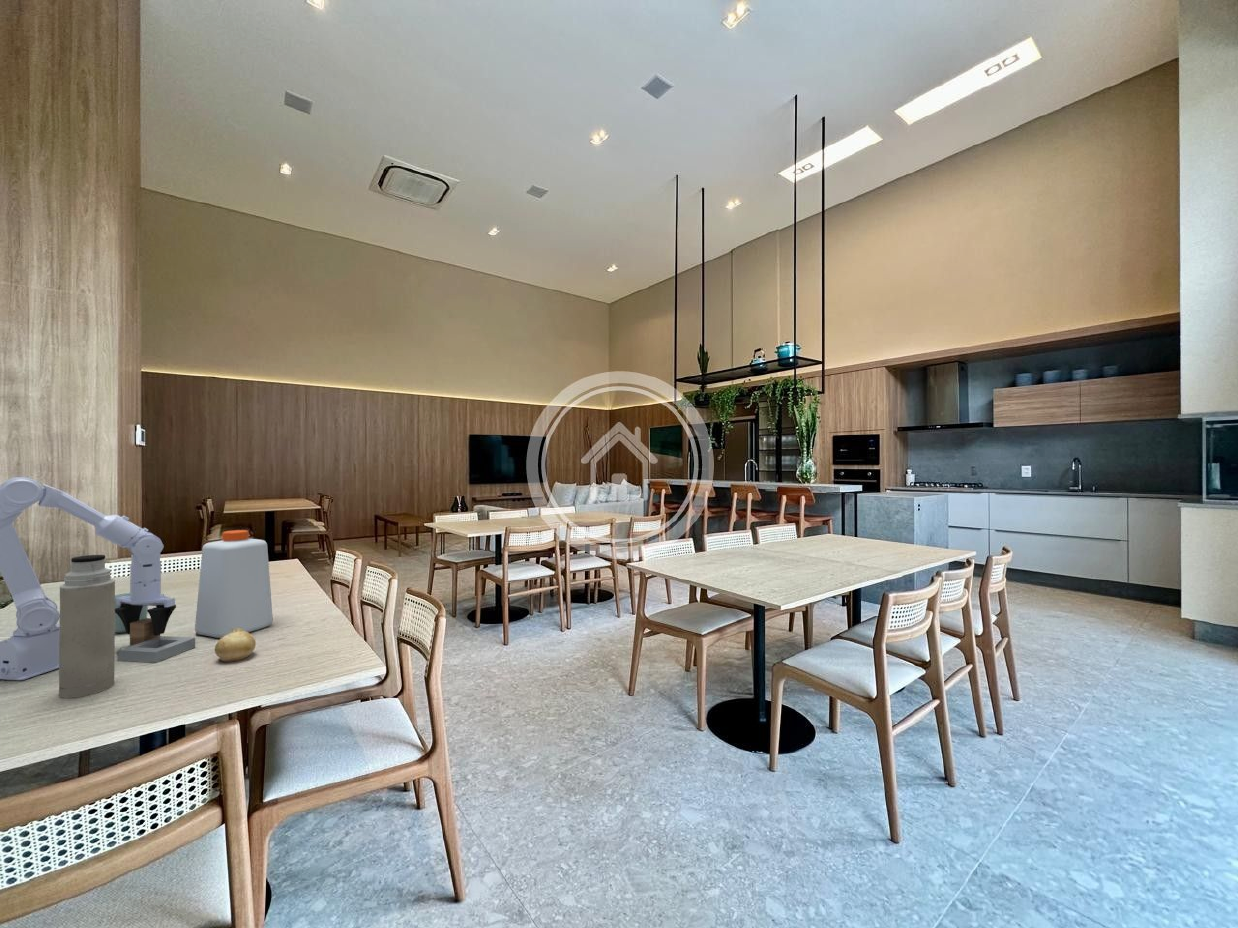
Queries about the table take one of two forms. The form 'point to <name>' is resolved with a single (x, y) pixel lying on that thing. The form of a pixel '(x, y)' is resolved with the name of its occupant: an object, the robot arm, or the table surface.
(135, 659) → the grey flat square frame
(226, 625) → the plastic bottle
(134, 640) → the wooden rectangular block
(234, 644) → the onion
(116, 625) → the cup
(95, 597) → the thermos bottle
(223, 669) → the table surface
